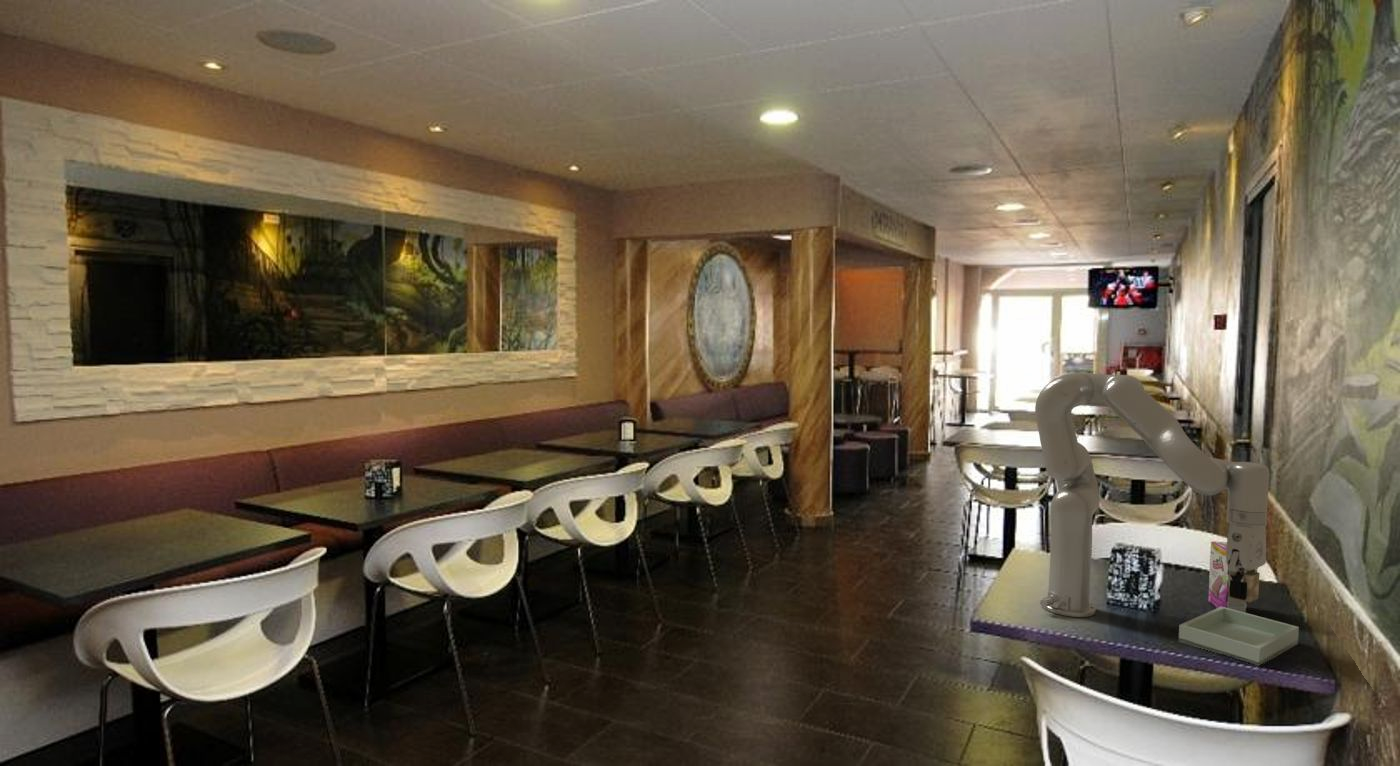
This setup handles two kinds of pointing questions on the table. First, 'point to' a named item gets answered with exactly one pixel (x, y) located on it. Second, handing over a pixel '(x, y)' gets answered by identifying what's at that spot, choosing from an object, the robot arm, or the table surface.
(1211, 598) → the candy bar box
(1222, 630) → the tray
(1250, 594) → the maple block
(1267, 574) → the table surface
